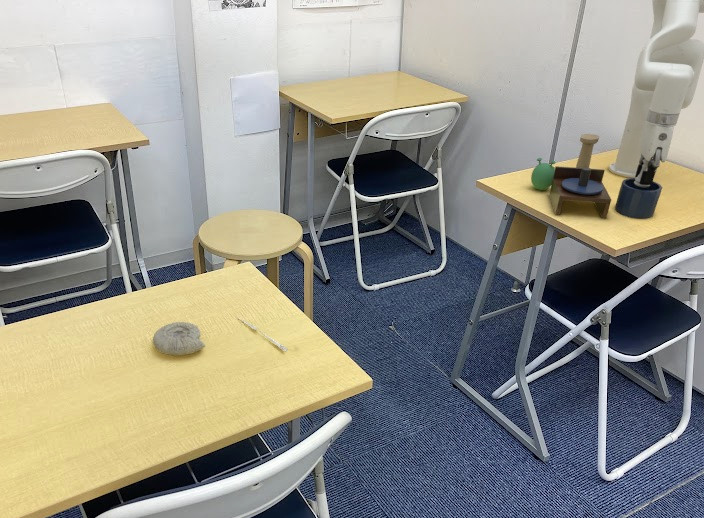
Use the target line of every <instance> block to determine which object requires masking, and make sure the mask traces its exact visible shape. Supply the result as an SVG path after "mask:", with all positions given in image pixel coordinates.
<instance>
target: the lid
mask: <svg viewBox="0 0 704 518" xmlns="http://www.w3.org/2000/svg"><path fill="white" fill-rule="evenodd" d="M591 169H592V168H590V167H589V168H588V167H583V168H582V169H581V173H580V178H569V179H565V180H563V181H562V187H563V188H565V189H566V190H569V191H571V192H575V193H579V194H598V193H601V192H602V191H603V186H602V185H601V184H600V183H598V182H595V181H592V180H589V177H590V173H591Z"/></svg>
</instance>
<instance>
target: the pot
mask: <svg viewBox="0 0 704 518" xmlns="http://www.w3.org/2000/svg"><path fill="white" fill-rule="evenodd" d="M634 181H636V180H635V178H630V177H627V178H626V179H623V180H622V182H621V184H620V187H619V190H618V195H617V198H616V202H615V205H614V211H615V212H616V213H617V214H619V215H620V216H622V217H626V218H630V219H635V220H648V219H651V218H653V216H654V214H655V211H656V208H657V206H658V203H659V200H660V196H661V193H662V191H663V186H662V185H661V184H659V182H656V181H654V180H653V182H652V185H650V186H649V187H638V186H636V185H635V184H634Z"/></svg>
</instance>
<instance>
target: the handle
mask: <svg viewBox="0 0 704 518" xmlns="http://www.w3.org/2000/svg"><path fill="white" fill-rule="evenodd" d="M599 139H600V136H599V135H598V134H594V133H585V134H581V135H580V138H579V142H580V143H582V145H581V149H580V151H579V155H578V158H577V162H576V165H575V168H583V167H588V168H590V166H591V162H592V161H591V160H592V154H593V150H594V145H595V144H597V143H598V142H599Z"/></svg>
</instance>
